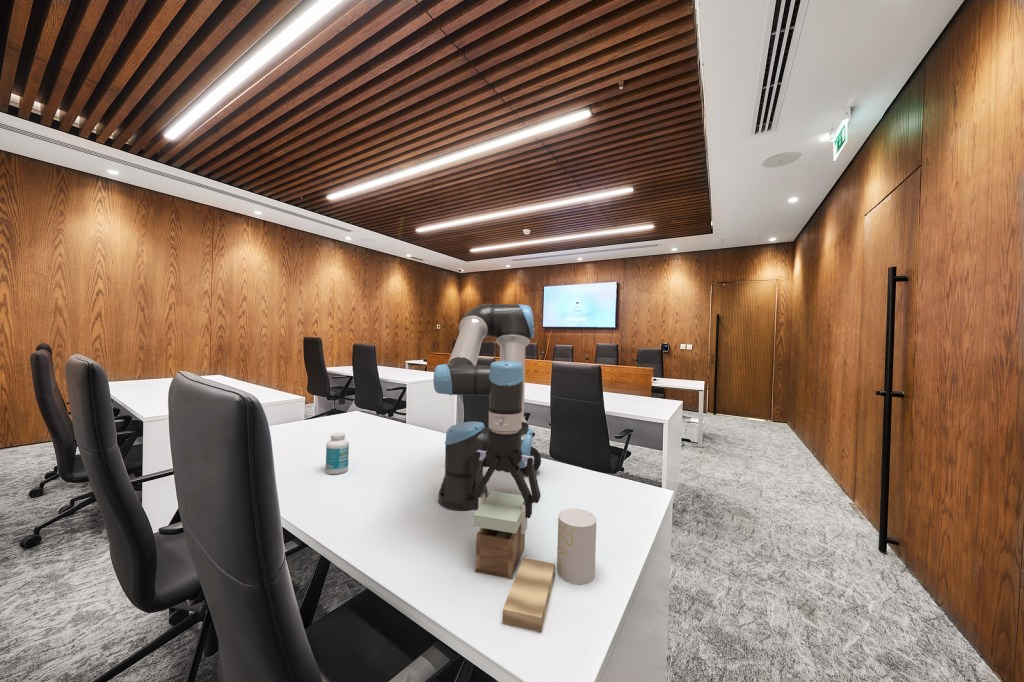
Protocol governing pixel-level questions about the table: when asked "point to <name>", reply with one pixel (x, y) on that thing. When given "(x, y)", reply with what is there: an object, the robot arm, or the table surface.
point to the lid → (500, 512)
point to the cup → (576, 546)
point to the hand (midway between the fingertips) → (502, 527)
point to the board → (529, 595)
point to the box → (498, 552)
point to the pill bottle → (337, 454)
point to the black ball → (536, 461)
